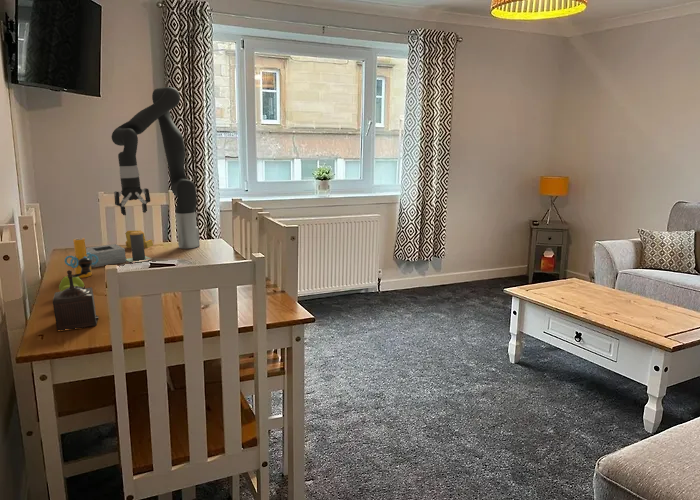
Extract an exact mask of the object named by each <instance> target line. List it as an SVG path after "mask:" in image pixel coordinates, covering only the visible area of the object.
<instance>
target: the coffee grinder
mask: <svg viewBox="0 0 700 500" xmlns="http://www.w3.org/2000/svg"><path fill="white" fill-rule="evenodd" d="M91 264H92V260H91V259H89V258H82V259H80V260H79V261H78V265H79V266H80V267H81V268H82V270H81V273H80V274H75V273H74V274H73V271H72V270H71V269H68V270H67V271H66V274H67V275H66V276H68V278H69V282H70V287H69V288H67V289H65V290H63V291H61V292H60V291H57V292H56V291H55V292H54V295H53V298H52V306H53V313H54V317H55V325H56V331H57V330H65V329H75V328H82V329H85V328H84V327H88V328H93V327H92V326H94V327H96V326H97V324H98V321H99V318H100V317H99V315H97V314H96V313H97V312H96V305H95V298H94V296H95V295H94V290H93V287H92V286H91V287H86V285H84V287H78V286H75V287H74V285H73V280H72V278H73V277H79V276H81V275H83V274H85V275H86V274H87V273H89V272H91V270H92V269H91V270H90V266H91ZM75 330H76V329H75Z"/></svg>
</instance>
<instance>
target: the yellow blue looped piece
mask: <svg viewBox="0 0 700 500" xmlns="http://www.w3.org/2000/svg"><path fill="white" fill-rule="evenodd" d="M85 240H86V239H85V237H80V238H79V237H77V238H74V239H72V241H73V248H74V256H73V255H68V256H65V258H64V264H65V265H66V266H68V267H71V268H73V269H74V275H75V274H80V273H81V270H82V268H81V267H80V266H79V265H78V261H79V260H80V259H82V258H90V259H91V260H92V256H94V257H95V258H96V262H94V263H92V264H91V265H94V264H96V263H97V262H98V257H97V256H96V255H94V254H91V253H89V252H88V253H86V248H87V247H86V241H85ZM88 254H89V256H88V257H87V255H88ZM69 258H71V259H70V262H68V259H69ZM90 270H91V272H89V273H87V274H86V275H85V274H83V275H81V276H79V278H80V279H82V278H83V279H85V278H89V277H92V276H93V272H92V271H93V270H92V267H91V266H90Z"/></svg>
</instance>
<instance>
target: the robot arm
mask: <svg viewBox="0 0 700 500" xmlns="http://www.w3.org/2000/svg"><path fill="white" fill-rule="evenodd" d="M151 97H152V98H151V99H152V100H151V101H152V104H151V105H149V106H147V107H145V108H143V109H142V110H140V111H139V112H137V113H136V114H135V115H133V117H132V118H130V119H129V120H128V121H126V122H124V123H122V124H121V125H120V126H118V127H116V128H115V129H114V130H113V131H112V133H111V141H112V142H113V143H114V145H117V146H119V147H120V146H122V147H123V150H122V151H120V152H119V153H118V155H117V157H118V165H119V178H120V179H119V180H120V186H121V191H114V192H113V194H114V197H113V198H114V204H115V206H116V207H119V209H120V212H121V215H123V216H127V210H126V206H125V205H126V204H127V203H128V202H129V201H137V200H138V201H140V202H141V207H142V208H141V209H142V212H143V213H144V214H145V213H147V211H148V207H147V206H148V203H150V202H151V196H150V190H149V188H141V180H140V172H139V168H138V160H137V152H138V144H139V139H138V138H139V137H138V135H141V134H142V133H144V132H145V131H146V130H147V129H148V128H149V127H150V126H151V125H152V124H153V123H154V122H156V120H158V124H159V128H160V129H159V130H160V133H161V137H162V144H163V148H164V153H165V156H166V162H167V165H168V166H167V167H168V170H169V179H170V187H171V188H170V189H171V192H172V193H173V195H174V196H175V197H177V198H176V199H177V201H176V202H177V205H176V206H175V208H174V209H175V219H176V230H177V232H176V233H177V240H178V241H177V244H178V249H183V250H185V249H186V250H187V249H188V250H189V249H195V248H198V247H200V246H201V243H200V233H199V227H198V226H197V216H196V213H197V212H196V208H197V191H196V185H195V183H194V182H193V181H191V180H190V179H188V178H187V175H186V171H185V160H186V159H185V158H186V146H185V141H184V136H183V135H182V132H181V131H180V129H179V128H178V127H177V125H176V124H175V123H174V121H173V119H172V116H171V112H170V111H171V110H172V109H174V108H176V107H177V106H178V105H179V104H180V102H181V95H180V93H179V91H178V89H176V88H175V87H173V86H165V87H158V88H155V89H153V91H152V96H151ZM142 193H143V194H144V197H143V196H141V194H142ZM121 195H122V196H123V198H122V199H121V202H120V197H121Z"/></svg>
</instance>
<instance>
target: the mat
mask: <svg viewBox="0 0 700 500" xmlns="http://www.w3.org/2000/svg"><path fill="white" fill-rule="evenodd" d="M146 259H152V258H151V257H150V256H146V255H145V259H144V260H146ZM133 261H134V260H133V258H132V257H129V258H126V262H128V263H130V262H133Z"/></svg>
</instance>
